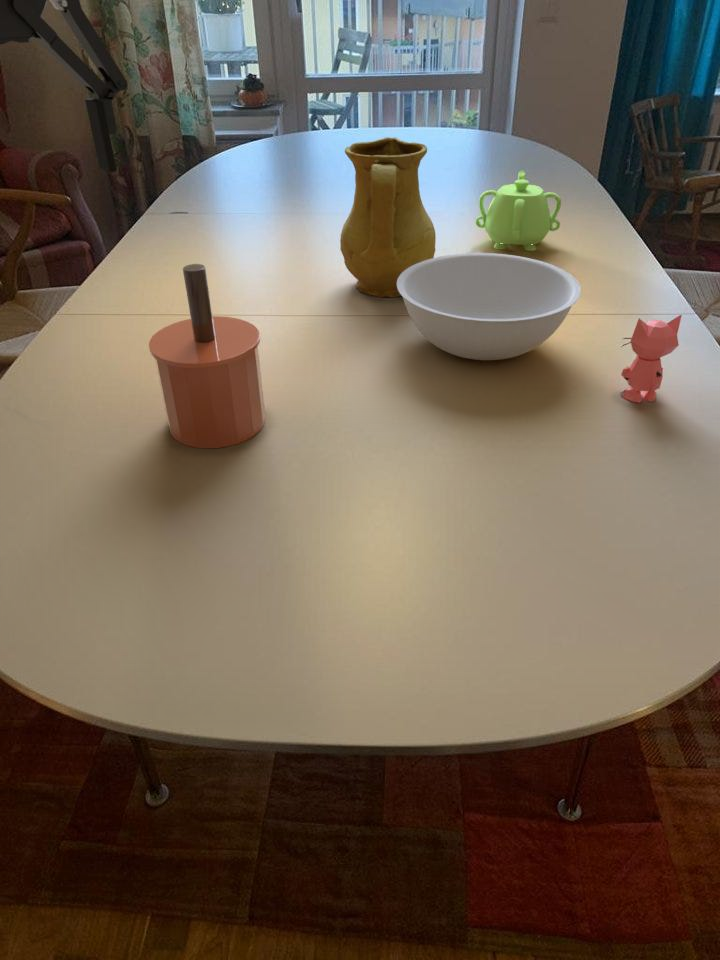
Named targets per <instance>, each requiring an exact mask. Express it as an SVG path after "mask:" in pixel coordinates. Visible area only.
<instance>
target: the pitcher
mask: <svg viewBox="0 0 720 960" xmlns="http://www.w3.org/2000/svg"><path fill="white" fill-rule="evenodd" d="M427 153H428V147H427V145H425V143H419V142H407V141H404V140H400V139H399V138H398V137H396V136H394V137H390V136H386V137H382V138H379V139H376V140H372V141H363V142H362V141H361V142H354V143H352V144H350V145H349V146H346V147H345V149H344V154H345V155H346V156H347V157H348V159H349V160H350V162H351V163H352V165H353V168H354V171H355V174H354V182H355V186H354V196H353V202H352V203H353V204H352V206H351V208H350V209H351V210H350V212H349V214H348V216H347V218H346V220H345V222H344V223H343V225H342V228H341V233H340V237H339V239H340V240H339V242H340V243H339V244H340V246H339V247H340V249H339V250H340V252H341V254H342V256H343V263H344V265H345V268H346V269H347V271H348V272H349V273H350V274H351V275H352V276H353V277H354V278H355V279H356V280H357V281H356V283H355V285H354V287H355V288H356V290H358V291H359V292H361V293H364V294H366V295H368V296H374V297H377V298H384V297H387V298H399V297H403V296H402V295H401V294H400V293H399V291H398V289H397V279H398V277H399V276H400V274H401V273H402V272H403V271H405V270H406V269H407V268H409V267H411V266H413V265H414V264H417V263H419V262H422V261H425V260H428V259H432V258H435V253H436V240H437V239H436V229H435V226H434V223H433V220H432V219H431V217H430V216H429V214H428V212H427V210H426V208H425V206H424V204H423V201H422V197H421V191H420V180H419V169H420V168H419V167H420V165H421V161H422V160H423V158H424V157H425V156H426V155H427Z"/></svg>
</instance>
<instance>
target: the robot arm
mask: <svg viewBox="0 0 720 960" xmlns="http://www.w3.org/2000/svg"><path fill="white" fill-rule="evenodd" d="M48 1H49V2H50V3H51V5H52V7H53V8H54V9H55V10H56V11H60V13H61V15H62V17H63V19H64V20H65V22H66V23H67V25H68V27H69V28H70V30H71V31H72V33H73V35H74V36H75V38H76V39H77V40H78V42H79V43H80V45H81V47H82V48H83V50H84V51H85V53H86V54H87V56H88V57H89V59H90V60H91V62H92V64H93V65H94V67H95V68H96V70H97V72H98V74H100V76H101V78H102V79H103V80H102V79H101V78H100V77H99V75H97V74H96V73H95V71H93V70H92V68H90V67H89V66H88V65H87V64H86V63H85V62H84V61H83V60H82V58H80V57H79V56H78V55H77V54H76V53H75V52H74V50H73V49H71V48H70V46H69V45H68V44H66V42H64V41H63V39H61V38H60V36H59V35H58V33H57V32H56V31H55V30H54V29H53V28H52V26H50V25H49V24H48V23H47V22H46V20H44V19H43V18H42V16H43V13H44V11H45V8H46V5H47V2H48ZM32 39H33V40H34V41H35V42H36V43H38V44H39V45H41V46H42V47H43V48H44V49H45V50H46V51H47V52H48V53H49V54H50V55H51V56H52V57H53V58H54V59H55V60H56V61H57V62H58V63H59V64H60V65H61V66H62V67H63V68H64V69H65V70H66V71H67V72H68V73H69V74H70V75H71V76H72V77H74V79H76V81H78V82H79V83H80V84H81V85H82V86H83V88H85V89H86V90H87V91H88V92H89V93H90V94H91V95H92V96H93V98H85V99H84V103H85V106H86V111H87V115H88V120H89V121H88V122H89V126H90V130H91V134H92V139H93V144H94V148H95V149H94V150H95V153H96V159H97V163H98V167H99V169H101V170H103V171H106V172H109V173H114V172H118V170H117V165H116V160H115V159H116V158H115V154H114V150H113V145H112V140H111V135H116V134H117V129H118V127H117V122H116V118H115V112H114V107H113V100H114V99H115V98H116V94H117V93H120V92H121V91H125V90H127V88H128V81H127V79H126V77H125V76H124V74H123V72H122V71H121V70H120V68H119V66H118V64H117V63H116V61H115V60H114V58H113V57H112V54H111V53H110V52H109V50H108V49H107V47H106V45H105V43H104V42H103V40H102V39H101V37H100V36H99V34H98V33H97V31H96V29H95V28H94V26H93V24H92V23H91V22H90V19H89V18H88V16H87V15H86V13H85V12H84V9H83V8H82V5H81V1H80V0H0V45H4V44H8V43H9V42H14V43H21V44H24V43H30V41H31V40H32Z"/></svg>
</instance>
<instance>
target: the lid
mask: <svg viewBox="0 0 720 960" xmlns="http://www.w3.org/2000/svg"><path fill="white" fill-rule="evenodd" d="M182 273H183V279H184V285H185V292H186V297H187V302H188V303H187V305H188V311H189V315H190V318H187V319H184V320H180V321H177V322H174V323H171V324H168V325H166V326H163V328H161V329H158V331H156V332H155V333H154V334H153V335H152V336H151V338H150V339H149V341H148V349H149V353H150V355H151V356H152V357H153V358H154V360H155V359H156V360H158V361H160V362H162V363H164V364H167V365H171V366H176V367H183V368H205V367H213V366H219V365H224V364H227V363H231V362H234V361H237V360H239V359H241V358H244V357H245V356H247V355H249V354H250V353H252V352H253V351H254V350H255V349H256V348H257V347H258V348H259V346H260V342H261V335H260V333H261V332H260V330H259V329H258V327H257V326H255V325H254V324H252V323H251V322H250V321H247V320H244V319H241V318H236V317H231V316H221V315H220V316H218V315H217V316H215V315H214V316H213V312H212V304H211V298H210V290H209V283H208V277H207V269H206V265H204V264H201V263H190V264H187V265H184V266H183V267H182Z"/></svg>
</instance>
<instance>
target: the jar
mask: <svg viewBox="0 0 720 960" xmlns="http://www.w3.org/2000/svg"><path fill="white" fill-rule="evenodd" d="M154 361H155V366H156V367H155V368H156V371H157V376H158V381H159V386H160V391H161V396H162V401H163V406H164V411H165V417H166V421H167V422H166V423H167V426H168V428H169V433H170V435H171V436H172V437H173V439H175V440H176V441H177V442H179V443H181V444H182V445H185V446H188V447H192V448H199V449H219V448H220V449H221V448H225V447H231V446H235V445H238V444H240V443H243V442H246V441H248V440H249V439H251V438H253V437H254V436H255V435H257V434H258V433H259V432H260V431H261V429H262V428H264V424H265V421H266V417H265V416H266V410H265V400H264V391H263V380H262V372H261V362H260V353H259V346H258V347H257V348H256V349H255V350H254V351H253V352H252V353H250V354H249V355H247V356H245V357H244V358H241V359H239V360H237V361H234V362H231V363H227V364H224V365H219V366H213V367H205V368H183V367H176V366H171V365H167V364H164V363H162V362H160V361H158V360H156V359H155V358H154Z"/></svg>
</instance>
